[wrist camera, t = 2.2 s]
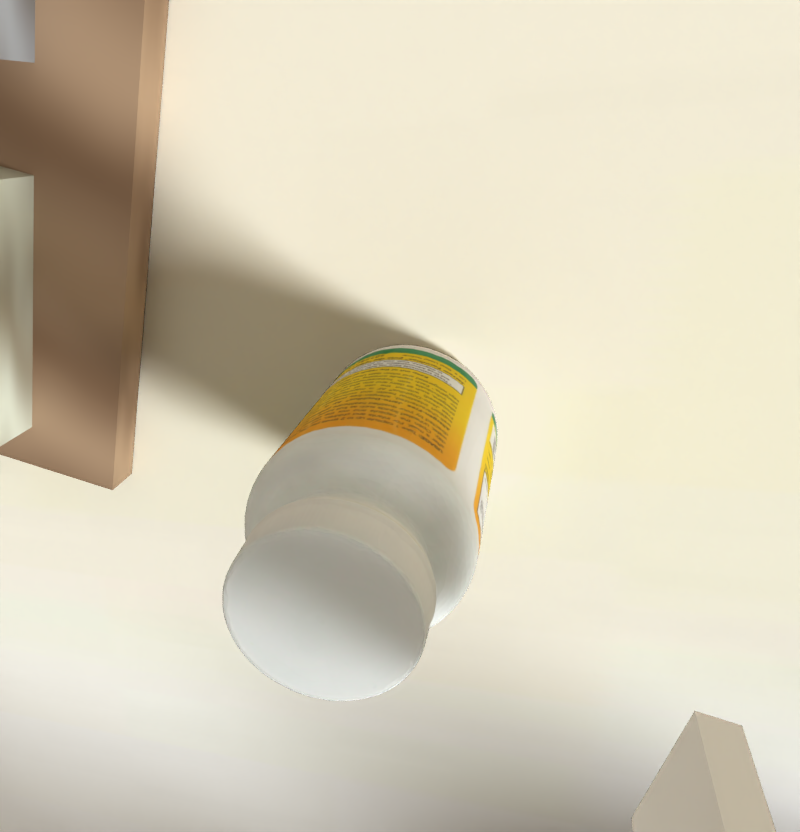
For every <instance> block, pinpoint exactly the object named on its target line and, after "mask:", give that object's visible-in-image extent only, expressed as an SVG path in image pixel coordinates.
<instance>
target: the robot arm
mask: <svg viewBox="0 0 800 832" xmlns="http://www.w3.org/2000/svg"><path fill="white" fill-rule="evenodd" d="M631 820H632V828H633V832H776V830H775V827H774V824H773V821H772V818H771V814H770V811H769V808H768V805H767V802H766V799H765V796H764V793H763V790H762V786H761V783H760V780H759V777H758V774H757V771H756V768H755V765H754V762H753V758H752V755H751V752H750V749H749V746H748V743H747V740H746V737H745V734H744V730H743V727H742V726H741V725H738V724H735V723H732V722H729V721H725V720H722V719H719V718H716V717H713V716H709V715H706V714H703V713H700V712H697V711H694V713H693V715H692V716H691V718H690V720H689V721H688V723H687V725H686V726H685V728H684V730H683V731H682V733H681V735H680V736H679V738H678V740H677V742H676V743H675V745H674V747H673V748H672V750H671V752H670V753H669V755H668V757H667V758H666V760H665V762H664V763H663V765H662V767H661V769H660V770H659V772H658V774H657V775H656V777H655V779H654V780H653V782H652V784H651V785H650V787H649V789H648V790H647V792H646V794H645V796H644V797H643V799H642V801H641V802H640V804H639V806H638V807H637V809H636V811H635V812H634V814H633V816H632V817H631Z"/></svg>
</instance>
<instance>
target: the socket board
mask: <svg viewBox="0 0 800 832" xmlns="http://www.w3.org/2000/svg"><path fill="white" fill-rule="evenodd" d="M168 5H169V0H0V454H1V455H4V456H7V457H10V458H13V459H16V460H20V461H23V462H26V463H29V464H32V465H35V466H38V467H42V468H45V469H48V470H51V471H54V472H57V473H60V474H64V475H67V476H70V477H73V478H76V479H79V480H83V481H86V482H89V483H92V484H95V485H98V486H101V487H105V488H108V489H111V490H113V489H114V488H115V487H117V486H118V485H119V484H120V483H121V482H122V481H124V480H125V479H126V478H127V477H128V476H129V475H130V474H132V462H133V450H134V437H135V424H136V412H137V399H138V386H139V373H140V361H141V348H142V335H143V323H144V310H145V297H146V285H147V272H148V259H149V246H150V234H151V221H152V208H153V196H154V183H155V170H156V157H157V145H158V132H159V119H160V107H161V94H162V81H163V69H164V56H165V43H166V30H167V18H168Z"/></svg>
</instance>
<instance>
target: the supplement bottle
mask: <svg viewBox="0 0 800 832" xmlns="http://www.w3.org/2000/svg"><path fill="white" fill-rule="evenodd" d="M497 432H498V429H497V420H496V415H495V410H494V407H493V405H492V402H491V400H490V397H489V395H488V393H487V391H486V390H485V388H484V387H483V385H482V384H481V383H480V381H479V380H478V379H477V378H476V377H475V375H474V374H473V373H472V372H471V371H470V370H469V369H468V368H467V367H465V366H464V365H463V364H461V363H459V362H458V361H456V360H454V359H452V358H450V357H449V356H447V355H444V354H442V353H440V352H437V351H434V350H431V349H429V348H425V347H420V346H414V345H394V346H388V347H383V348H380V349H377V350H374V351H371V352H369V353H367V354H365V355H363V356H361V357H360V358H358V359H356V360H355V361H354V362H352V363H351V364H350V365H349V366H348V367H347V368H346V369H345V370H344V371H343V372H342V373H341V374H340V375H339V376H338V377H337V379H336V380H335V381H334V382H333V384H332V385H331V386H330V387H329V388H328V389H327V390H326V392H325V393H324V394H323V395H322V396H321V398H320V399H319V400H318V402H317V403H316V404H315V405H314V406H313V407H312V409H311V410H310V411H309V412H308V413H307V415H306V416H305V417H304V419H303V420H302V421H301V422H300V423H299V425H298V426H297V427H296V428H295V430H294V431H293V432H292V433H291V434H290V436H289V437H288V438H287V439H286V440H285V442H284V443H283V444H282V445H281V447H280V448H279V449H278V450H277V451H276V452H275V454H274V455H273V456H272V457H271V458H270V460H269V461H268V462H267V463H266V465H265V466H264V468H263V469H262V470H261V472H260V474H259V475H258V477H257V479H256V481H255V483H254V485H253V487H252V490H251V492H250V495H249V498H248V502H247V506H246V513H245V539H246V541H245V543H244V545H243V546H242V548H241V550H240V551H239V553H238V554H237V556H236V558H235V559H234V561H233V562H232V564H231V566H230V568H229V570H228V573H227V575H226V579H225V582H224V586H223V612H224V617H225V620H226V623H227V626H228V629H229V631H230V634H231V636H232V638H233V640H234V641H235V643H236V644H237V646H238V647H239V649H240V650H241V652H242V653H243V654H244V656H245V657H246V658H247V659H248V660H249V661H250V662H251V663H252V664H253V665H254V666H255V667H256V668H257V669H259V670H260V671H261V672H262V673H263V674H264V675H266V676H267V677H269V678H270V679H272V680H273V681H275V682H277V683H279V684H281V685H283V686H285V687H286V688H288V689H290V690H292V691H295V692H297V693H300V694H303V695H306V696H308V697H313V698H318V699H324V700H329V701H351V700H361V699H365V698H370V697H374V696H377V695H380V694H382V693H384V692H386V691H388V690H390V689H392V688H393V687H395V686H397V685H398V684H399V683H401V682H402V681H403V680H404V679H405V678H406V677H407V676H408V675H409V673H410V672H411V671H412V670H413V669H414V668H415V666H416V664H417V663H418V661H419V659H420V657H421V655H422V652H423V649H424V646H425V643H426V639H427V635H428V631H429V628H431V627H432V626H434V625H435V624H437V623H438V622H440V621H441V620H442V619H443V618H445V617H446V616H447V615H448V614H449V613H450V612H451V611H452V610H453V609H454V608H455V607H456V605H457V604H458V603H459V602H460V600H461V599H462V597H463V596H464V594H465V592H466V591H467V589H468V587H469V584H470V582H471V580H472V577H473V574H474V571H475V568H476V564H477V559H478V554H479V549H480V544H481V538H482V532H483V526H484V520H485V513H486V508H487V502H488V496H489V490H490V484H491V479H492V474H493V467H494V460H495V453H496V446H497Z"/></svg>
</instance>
